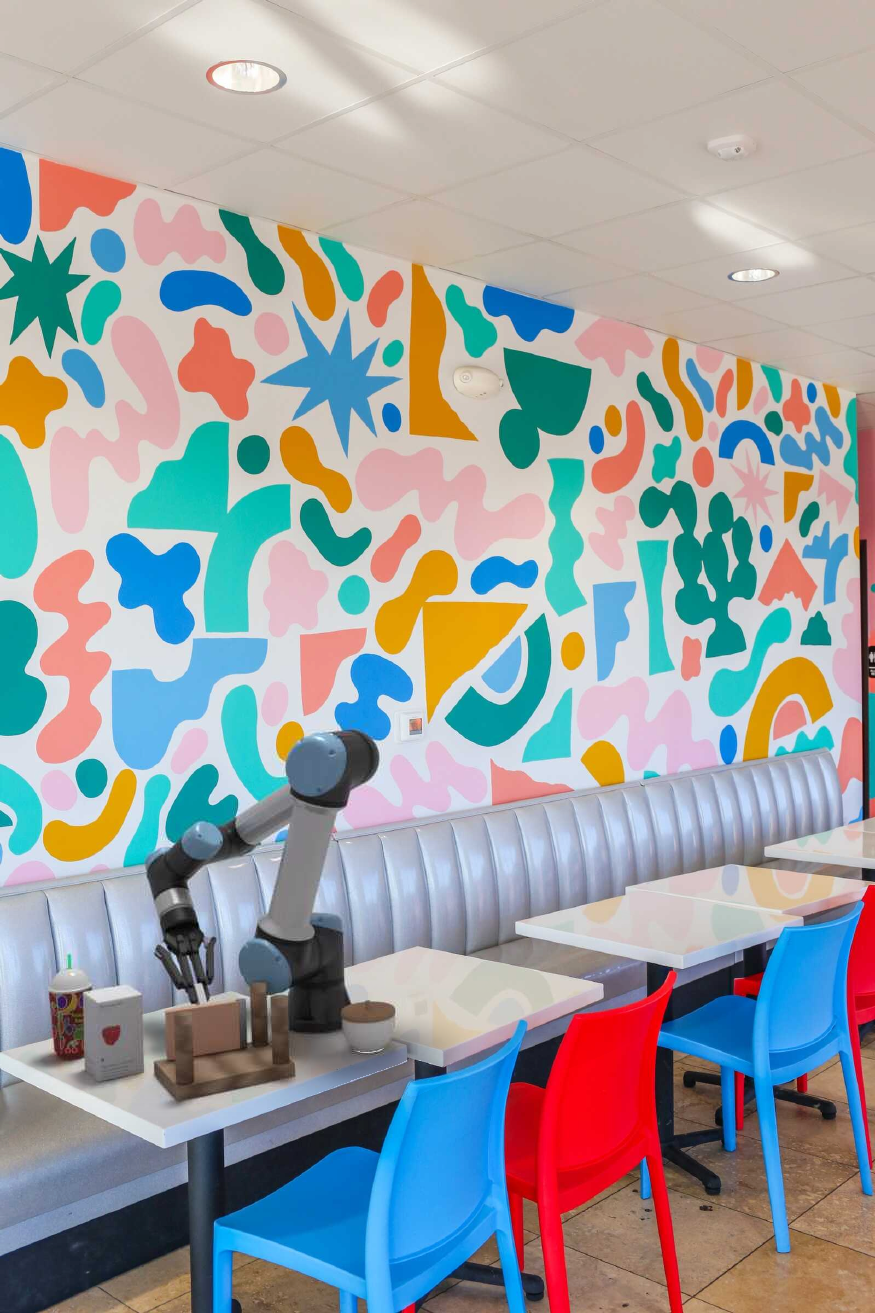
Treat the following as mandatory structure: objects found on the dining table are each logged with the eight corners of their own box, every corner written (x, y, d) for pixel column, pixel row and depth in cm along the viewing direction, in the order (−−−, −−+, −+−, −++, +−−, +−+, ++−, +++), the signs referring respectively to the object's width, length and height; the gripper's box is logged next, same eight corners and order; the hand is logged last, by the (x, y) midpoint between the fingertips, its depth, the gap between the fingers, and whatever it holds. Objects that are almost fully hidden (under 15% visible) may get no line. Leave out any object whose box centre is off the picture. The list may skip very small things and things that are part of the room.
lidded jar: (332, 1047, 231) (330, 1000, 231) (377, 1036, 237) (376, 990, 237) (360, 1062, 222) (358, 1012, 222) (407, 1049, 228) (405, 1001, 228)
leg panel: (245, 1044, 226) (244, 998, 226) (248, 1047, 224) (246, 1000, 224) (166, 1057, 220) (164, 1009, 220) (168, 1060, 218) (166, 1012, 218)
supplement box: (97, 1083, 215) (95, 1002, 215) (83, 1070, 223) (81, 991, 223) (145, 1072, 220) (143, 993, 220) (130, 1059, 228) (127, 983, 228)
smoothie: (81, 1063, 226) (77, 960, 226) (42, 1061, 228) (38, 959, 228) (102, 1048, 235) (98, 949, 235) (64, 1047, 236) (60, 948, 236)
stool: (265, 1051, 230) (262, 978, 230) (295, 1076, 216) (292, 998, 216) (154, 1074, 219) (151, 997, 219) (178, 1101, 205) (175, 1019, 205)
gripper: (203, 921, 248) (232, 1020, 234) (142, 930, 242) (168, 1032, 227) (211, 901, 243) (240, 1000, 229) (149, 909, 237) (176, 1012, 223)
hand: (204, 1016), depth 228 cm, fingers closed
